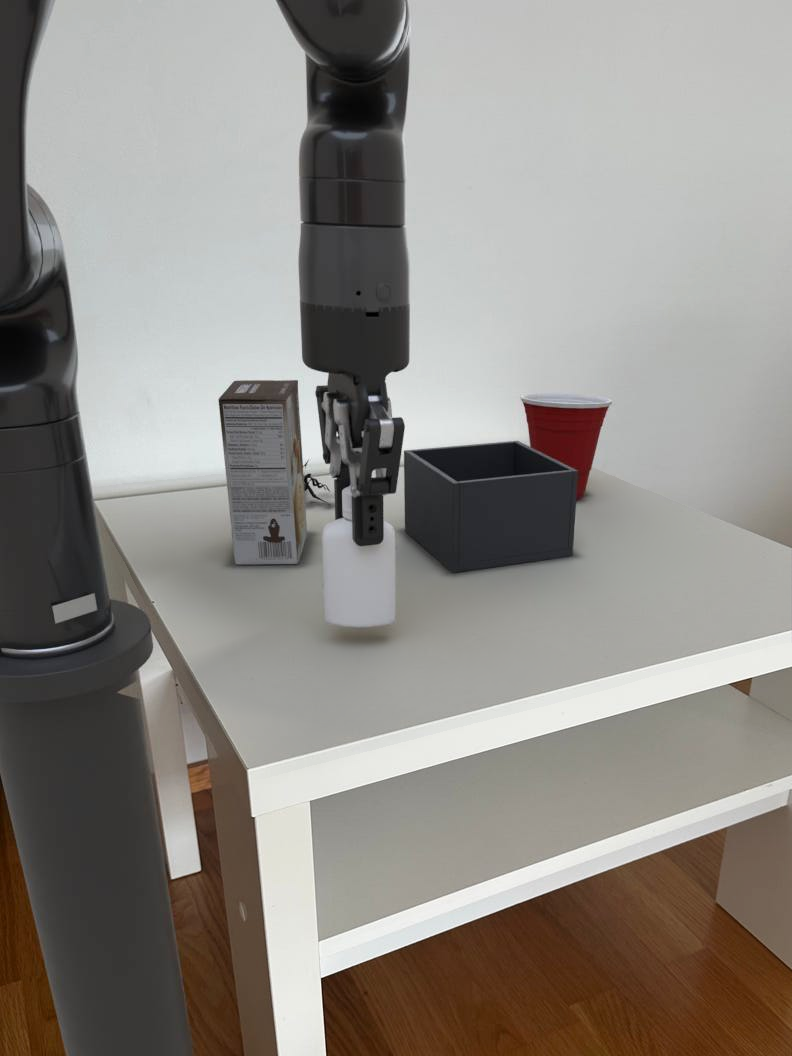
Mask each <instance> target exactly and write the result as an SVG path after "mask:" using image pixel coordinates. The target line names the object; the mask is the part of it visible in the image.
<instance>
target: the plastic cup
mask: <svg viewBox="0 0 792 1056" xmlns="http://www.w3.org/2000/svg"><path fill="white" fill-rule="evenodd" d="M519 398H520V401H521V402H522V404H523V407H524V413H525V416H526V417H525V418H526V423H527V428H528V429H527V431H528V437H529V438H528V439H529V447H531V448H533V449H535V450H537V451H539V452H541V453H543V454H545V455H547V456H549V457H551V458H553V459H555V460H557V461H559V462H561V463H563V464H565V465H567V466H569V467H571V468H573V469H575V470H577V471H578V483H577V497H576V501H577V500H581V499H582V498H583V497H584V494H585V492H586V490H587V486H588V481H589V477H590V472H591V470H592V467H593V463H594V459H595V455H596V452H597V451H596V450H597V446H598V442H599V438H600V434H601V430H602V427H603V425H604V421H605V418H606V416H607V411H608V410H609V409H610V406H611V405H613V400H612V399H611V398H607V397H602V396H597V395H589V394H580V393H579V394H577V393H557V392H555V393H554V392H543V393H542V392H540V393H538V392H536V393H525V394H522V395H519Z"/></svg>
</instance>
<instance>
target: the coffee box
mask: <svg viewBox="0 0 792 1056" xmlns="http://www.w3.org/2000/svg"><path fill="white" fill-rule="evenodd" d="M218 409H219V410H218V411H219V420H220V430H221V438H222V449H223V459H224V467H225V479H226V489H227V500H228V509H229V518H230V519H229V521H230V527H231V528H230V529H231V539H232V549H233V557H234V558H233V559H234V564H235V565H238V566H241V565H243V566H244V565H245V566H246V565H247V566H249V565H250V566H251V565H252V566H253V565H298V564H299V563H300V559H301V556H302V553H303V549H304V546H305V543H306V540H307V536H308V523H307V508H306V507H307V506H306V505H307V504H305V503H306V493H305V492H306V491H305V490H304V476H305V473H304V467H303V466H304V464H303V463H304V461H303V446H302V431H301V415H300V399H299V380H298V379H287V380H286V379H283V380H276V379H275V380H271V379H267V380H266V379H265V380H263V379H262V380H261V379H260V380H259V379H255V380H245V379H243V380H233V382H232V383H231V384H230V385H229V386H228V387H227V389H226V390H225V391H224V392H223V393H222V394H221V395H220V396H219V397H218Z"/></svg>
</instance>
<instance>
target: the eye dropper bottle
mask: <svg viewBox="0 0 792 1056" xmlns="http://www.w3.org/2000/svg"><path fill="white" fill-rule="evenodd" d="M350 488H351V485H350V486H349V487H347V488H344V489H343V490H342V514H343V518H340V519H337V520H335V519H334V520H332V521H330V522H328V523H327V524H326V525H324V528H323V530H322V534H321V536H322V537H321V556H322V557H321V561H322V562H321V563H322V593H323V595H322V596H323V597H322V598H323V617H324V620H325V621H326V623H327V624H329V625H331V626H335V627H336V626H338V627H344V628H355V629H357V628H359V629H360V628H361V629H363V628H365V629H366V628H377V627H384V626H388V625H391V624H393V623H394V621H395V619H396V609H397V607H396V605H397V603H396V601H397V600H396V599H397V598H396V597H397V595H396V593H397V590H396V587H397V586H396V583H397V581H396V579H397V577H396V575H397V573H396V571H397V569H396V568H397V567H396V565H397V564H396V563H397V562H396V560H397V557H396V556H397V555H396V549H397V548H396V546H397V545H396V531H395V528H394V527H393V525H392V524H390V523H389V522H386V521H385V520H383V521H384V538H383V541H382V542H381V543H380V544H377V545H368V546H358V545H357V544H356V543H355V542H354V541H353V538H352V496H353V495H352V493H351V489H350Z"/></svg>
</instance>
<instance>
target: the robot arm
mask: <svg viewBox="0 0 792 1056" xmlns="http://www.w3.org/2000/svg"><path fill="white" fill-rule="evenodd" d="M275 2H276V5H277V7H278V8H279V11H280V12H281V14H282V17H283V18H284V20H285V23H286V24H287V26H288V28H289V30H290V31H291V34H292V35H293V37H294V39H295V40H296V42H297V44H298V45H299V47H300V48H301V49H302V50H303V52H304V57H305V81H306V113H307V115H306V116H307V117H306V118H307V121H306V126H305V129H304V131H303V133H302V134H301V135H302V136H301V138H300V142H299V150H298V177H299V178H298V190H299V191H298V192H299V216H300V217H299V218H300V219H299V220H300V222H301V223H300V235H299V244H298V245H299V246H298V258H297V259H298V261H297V262H298V286H299V288H298V289H299V310H300V311H299V313H300V339H301V360H302V362H303V364H304V365H305V366H306V367H307V368H309V369H311V370H313V371H316V372H321V373H326V374H328V375H327V383H326V385H325V384H324V385H323V384H322V385H317V386H316V387H315V391H314V394H315V397H316V405H317V412H318V421H319V423H318V424H319V430H320V439H321V446H322V447H321V448H322V459H323V461H324V463H325V465H329V469H328V471H329V474H330V475H331V478H332V479H334V480H333V487H334V520H337V519H340V518H343V514H342V490H343V489H344V488H347V487H349V486H350V485H351V488H350V489H351V493H352V495H353V496H352V538H353V541H354V542H355V543H356V544H357V545H358V546H368V545H377V544H380V543H381V542H382V541H383V538H384V521H385V520H384V496H387V495H392V494H396V493H397V487H398V481H399V473H400V466H401V458H402V450H403V444H404V436H405V429H406V427H405V421H404V419H403V417H401V416H397V417H393V409H392V402H391V399H390V397H389V396H388V395H389V394H388V389H387V388H388V387H387V383H386V380H387V379H386V378H387V376H388V375H390V374H391V373H399V372H401V371H404V370H405V369H406V368H407V367H408V366H409V365H410V343H411V342H410V337H411V336H410V334H411V333H410V331H411V328H410V327H411V260H410V252H409V251H410V250H409V243H408V228H407V223H408V222H407V219H408V218H407V217H408V216H407V215H408V214H407V211H408V207H407V206H408V205H407V203H408V202H407V201H408V198H407V197H408V194H407V193H408V189H407V187H408V184H407V181H408V174H407V173H408V172H407V171H408V170H407V169H408V168H407V157H406V145H405V130H406V121H407V109H408V98H409V87H410V67H411V47H412V46H411V45H412V24H411V23H412V21H411V19H412V18H411V11H410V10H411V9H410V5H409V0H275ZM55 4H56V0H0V657H9V658H16V659H41V658H51V657H57V656H63V655H67V654H71V653H75V652H78V651H81V650H84V649H87V648H90V647H92V646H94V645H96V644H98V643H100V642H102V641H103V640H105V639H106V638H107V637H108V636H110V635H111V633H112V632H113V631H114V628H115V622H114V616H113V613H112V612H111V601H110V599H111V598H110V594H109V588H108V587H109V586H108V581H107V575H106V574H107V573H106V568H105V561H104V556H103V555H104V554H103V550H102V543H101V537H100V531H99V524H98V518H97V513H96V506H95V499H94V494H93V488H92V482H91V475H90V469H89V462H88V457H87V450H86V444H85V438H84V437H85V436H84V431H83V424H82V419H81V413H80V404H79V398H78V390H77V385H78V383H77V381H78V372H79V351H78V350H79V349H78V341H77V333H76V325H75V316H74V308H73V301H72V293H71V286H70V285H71V284H70V278H69V271H68V270H69V269H68V264H67V259H66V258H67V257H66V252H65V248H64V244H63V240H62V235H61V231H60V228H59V226H58V223H57V221H56V219H55V216H54V214H53V212H52V211H51V209H50V207H49V205H48V204H47V203H46V201H45V200H44V198H43V197H42V196H41V195H40V193H38V191H37V190H36V189H35V188H34V187H32V186H31V184H29V183H28V181H27V123H28V122H27V121H28V107H29V98H30V89H31V83H32V78H33V74H34V69H35V65H36V62H37V59H38V55H39V52H40V48H41V46H42V43H43V40H44V36H45V33H46V31H47V30H46V29H47V27H48V24H49V22H50V19H51V15H52V12H53V10H54V9H53V8H54V6H55ZM374 471H375V476H374V477H372V476H373V472H374Z"/></svg>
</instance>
